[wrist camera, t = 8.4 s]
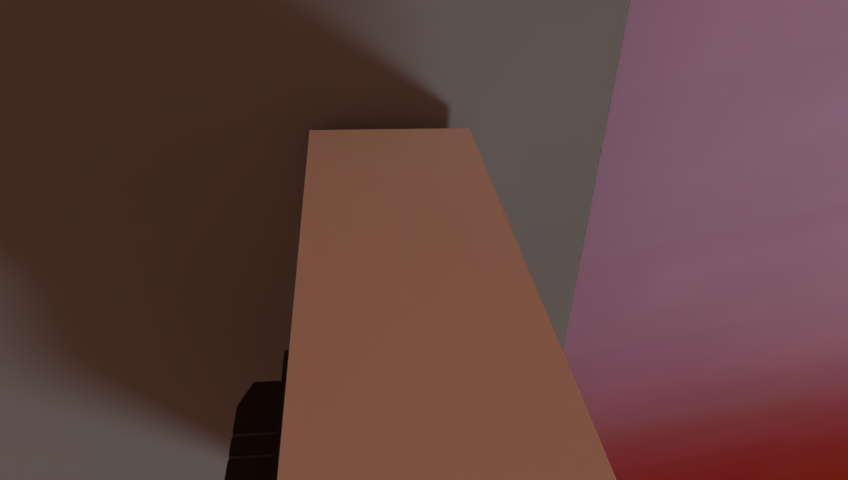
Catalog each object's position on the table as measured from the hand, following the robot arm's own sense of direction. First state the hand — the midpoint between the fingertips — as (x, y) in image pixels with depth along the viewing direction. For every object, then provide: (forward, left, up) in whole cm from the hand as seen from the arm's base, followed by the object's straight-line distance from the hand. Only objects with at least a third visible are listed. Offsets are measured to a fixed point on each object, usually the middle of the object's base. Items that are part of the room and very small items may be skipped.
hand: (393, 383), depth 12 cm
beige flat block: (0, 0, -1) cm, 1 cm away
